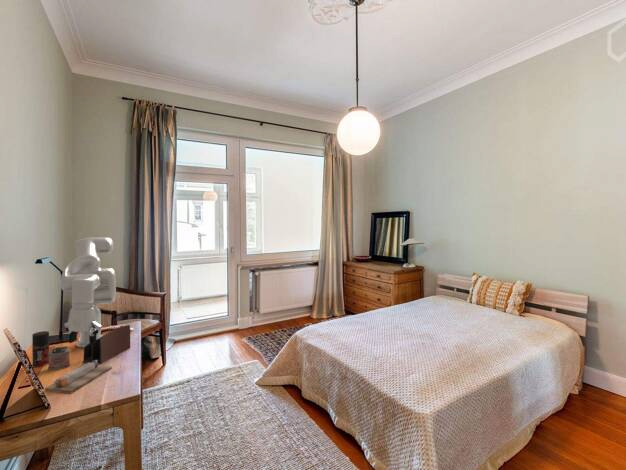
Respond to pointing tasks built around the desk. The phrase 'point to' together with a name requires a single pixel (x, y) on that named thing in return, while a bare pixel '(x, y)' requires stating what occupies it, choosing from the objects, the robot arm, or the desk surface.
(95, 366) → the tongs fixed
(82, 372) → the tongs arm
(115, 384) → the desk surface
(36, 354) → the deodorant
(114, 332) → the letter holder
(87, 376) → the board
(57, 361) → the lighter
